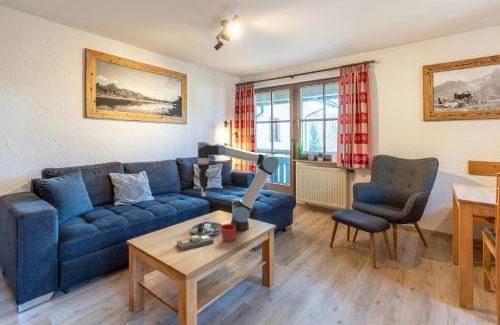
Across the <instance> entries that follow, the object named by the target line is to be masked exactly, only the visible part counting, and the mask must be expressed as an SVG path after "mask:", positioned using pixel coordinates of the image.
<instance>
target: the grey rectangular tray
mask: <svg viewBox="0 0 500 325" xmlns="http://www.w3.org/2000/svg"><path fill="white" fill-rule="evenodd" d="M206 235H207V236H208V237H209V238H210V239H207V240H202V239H200V240H199V241H195V242H193V241H192V240H191V237H189V238H185V239H180V240H176V246H177V247H178V248H179V250H181V251H185V250H189V249H193V248H198V247H201V246H206V245H211V244H214V238H212V237H211V236H210V235H209V234H203V235H198V236H199V237H201V236H206ZM183 240H188V241H189V242H190V243H189V244H185V245H182V244H181V243H180V241H183Z"/></svg>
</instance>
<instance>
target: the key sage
mask: <svg viewBox="0 0 500 325" xmlns="http://www.w3.org/2000/svg"><path fill="white" fill-rule="evenodd" d="M199 236H200V235H198V234H195V235H191V236H190V238H191V240H192V241H193V242H195V241H199V240H200V237H199Z"/></svg>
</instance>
